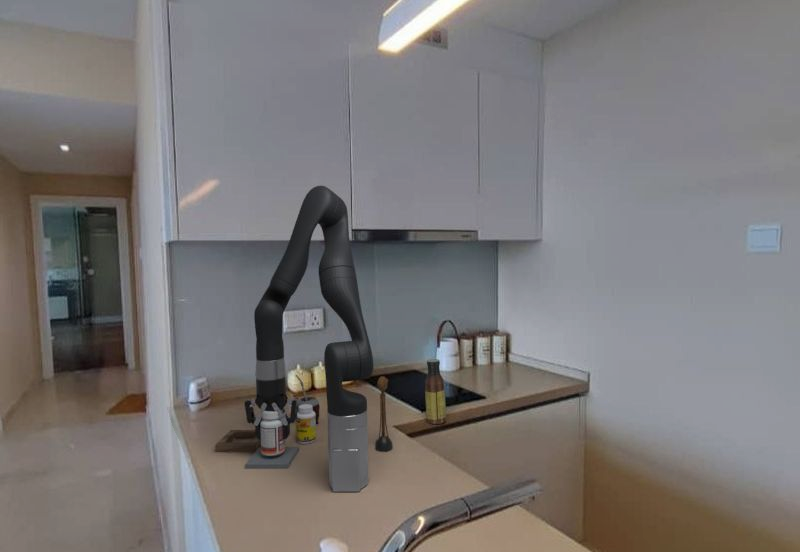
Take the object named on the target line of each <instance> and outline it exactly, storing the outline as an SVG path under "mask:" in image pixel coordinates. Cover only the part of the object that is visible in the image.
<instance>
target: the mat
mask: <svg viewBox="0 0 800 552" xmlns="http://www.w3.org/2000/svg"><path fill="white" fill-rule="evenodd" d="M299 451H300V447H299V446H285V450H284V452H283V453H281V454H279V455H274V456H266V455H263V454H262V452H261V446H259V447H258V449H257V450H256V451H255V452H253V454H252V455H251V457H250V458H249V459H248V460H247V461H246V462H245V464H244V469H289V468H290V466H291V464H292V463H293V461H294V460H295V458H296V456H297V454H298V453H299Z"/></svg>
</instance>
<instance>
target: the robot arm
mask: <svg viewBox="0 0 800 552" xmlns="http://www.w3.org/2000/svg"><path fill="white" fill-rule="evenodd" d="M298 211H299V212H298V215H297V218H296V221H295V224H294V226H293V229H292V233H291V235H290V237H289V238H290V239H289V241H288V244H287V246H286V249H285V252H284V254H283V255H282V258H281V260H280V261H279V263H278V265H277V268H276V269H275V271H274V273H273V275H272V277H271V279H270V282H269V284H268V287H267V288H266V290H265V292H264V293H263V295H262V296H261V299H260V300H259V302H258V304H257V305H256V307H255V309H254V313H253V317H254V318H253V319H254V328H255V338H256V341H255V342H256V343H255V358H256V361H255V371H254V372H255V373H254V374H255V389H256V391H255V392H256V396H255V398H251V397H250V398H247V399H246V400H245V401H244V409H245V416H246V422H247V423H248V424H251V425H254V430H255V436H256V437H257V439H261V433H260V423H261V421H262V419H263V418H262V415H263V412H264V411H276V412H278V417H279V418H280V419H281V421H282V423H283V424H284V425H283V439H285V440H287V439H288V438H289V437H290V435H291V424H294V423H296V419H297V411H298V402H299V398H298V397H294V398H290V397H288V395H287V383H286V381H287V379H286V361H285V348H284V347H285V345H284V339H283V323H284V322H283V320H284V319H283V318H284V316H283V315H284V312H285V310H286V308H287V306H288V304H289V302H290V300H291V298H292V296H293V295H294V294H295V293H296V291H297V290H298V287H299V285H300V284H301V282H302V280H303V277H304V275H305V273H306V272H307V268H308V264H309V260H310V259H309V257H310V248H311V241H312V236H313V234H314V231H315V229H316V228H317V226H318V225H319V227H320V228H321V231H322V235H323V240H324V250H323V253H322V256H321V259H320V261H319V264H318V279H319V286H320V293H321V295H322V298H323V299H324V301H325V302H326V303H327V305H328V306H329V307H330V308H331V309H332V310H333V311H334V312H335V313H336V314H337V316H338V317H339V318H340V319H341V321H343V323H344V325H345V326H346V329H347V331H348V333H349V336H350V338H351V340H346V341H345V340H344V341H337V342H330V343H328V344H327V345H326V346H325V349H324V357H323V359H324V361H323V362H324V371H325V372H324V374H325V385H326V386H325V387H326V405H327V410H326V412H327V448H328V449H327V452H328V484H329V485H328V486H329V487H330V488H332V492H337V493H340V492H349V493H350V492H354V493H356V492H361V489H363V488H365V487H366V486H367V485H368V483H369V481H370V479H369V478H370V477H369V476H370V475H369V443H368V442H369V441H368V439H369V438H368V400H367V398H366V396H365V395H364V394H362V393H359V392H356V391H351V390H348V389H346V388H343V387H344V386H343V383H345V382H354V381H355V382H357V381H362V380H368V379H369V378H371V376H373V372H374V357H373V351H372V348H371V344H370V343H371V342H370V340H369V335H368V331H367V327H366V324H365V320H364V319H365V318H364V315H363V312H362V305H361V299H360V291H359V285H358V278H357V274H356V268H355V263H354V258H353V253H352V246H351V241H350V233H349V232H350V231H349V230H350V229H349V215H348V208H347V205H346V203H345V202H344V200H343V198H341V197H340V196H339V195H337V194H336V193H335V192H334V191H333V190H331V189H330V188H328V187H327V186H325V185H316V186H314V187H312V188H311V189H310V190H308V192H307V193H306V195H305V196H304V199H303V201H302V203H301V206H300V209H299V210H298ZM287 404H288V407H289V408H290V415H288V411H287V409H286V407H285V406H286V405H287ZM255 405H256V406H257V407H258V409H259V411H258V413H257V415H256V417H255V410H254V407H255ZM281 410H282V411H281Z"/></svg>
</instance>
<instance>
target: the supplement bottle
mask: <svg viewBox="0 0 800 552" xmlns="http://www.w3.org/2000/svg"><path fill="white" fill-rule="evenodd" d="M298 411H299V412H298V413H297V419H296V420H295V432H296V437H295V438H296V441H297V443H298V444H301V445H308V444H312V443H314V442H315V441H316V439H317V424H316V414H315V412H314V411H313V407H312V405H310V404H303V405H300V406H299V410H298Z"/></svg>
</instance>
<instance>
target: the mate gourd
mask: <svg viewBox="0 0 800 552" xmlns="http://www.w3.org/2000/svg"><path fill="white" fill-rule="evenodd" d="M295 378H297V380H298V382H300V386H301V390H302V392H303V396H304V397H302V398H300V399H298V410H299V406H300V405H303V404H310V405H312V407H313V411H314V412H315V414H316V425H319V418H320V402H319V400H318V399H317V398H316V397H314V396H307V395H306V390H305V387H304V386H305V385H304V383H303V381H302V380H301V378H300V377H299V376H298V375H297V374H295ZM298 412H299V411H297V413H298Z"/></svg>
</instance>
